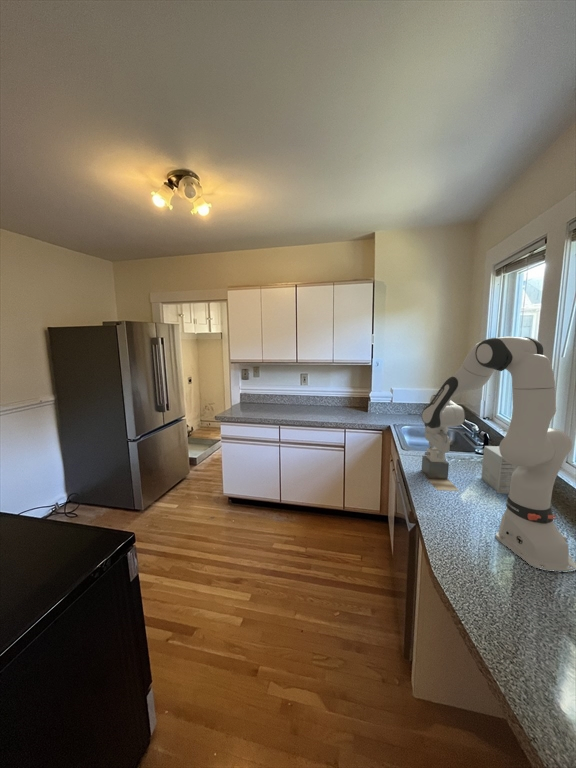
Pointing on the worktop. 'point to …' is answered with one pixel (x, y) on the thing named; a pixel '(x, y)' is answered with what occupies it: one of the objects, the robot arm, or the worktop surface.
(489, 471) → the supplement box
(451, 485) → the board
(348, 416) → the worktop surface
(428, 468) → the stepped grey block
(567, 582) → the worktop surface
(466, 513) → the worktop surface
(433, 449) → the pump housing
